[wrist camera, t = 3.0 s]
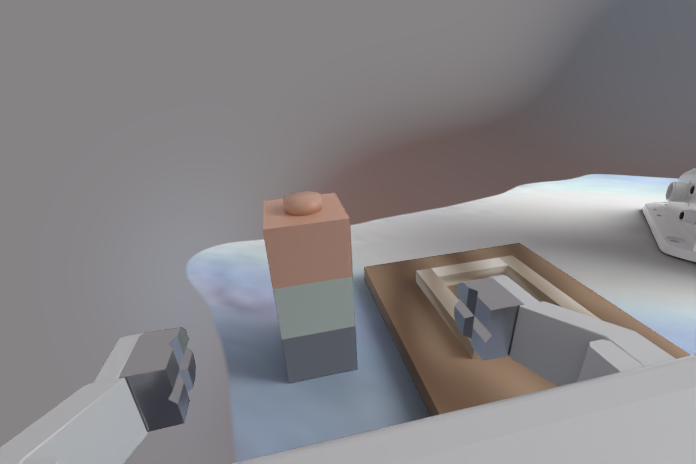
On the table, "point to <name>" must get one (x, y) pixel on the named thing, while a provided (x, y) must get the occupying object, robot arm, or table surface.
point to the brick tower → (312, 282)
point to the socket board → (455, 349)
